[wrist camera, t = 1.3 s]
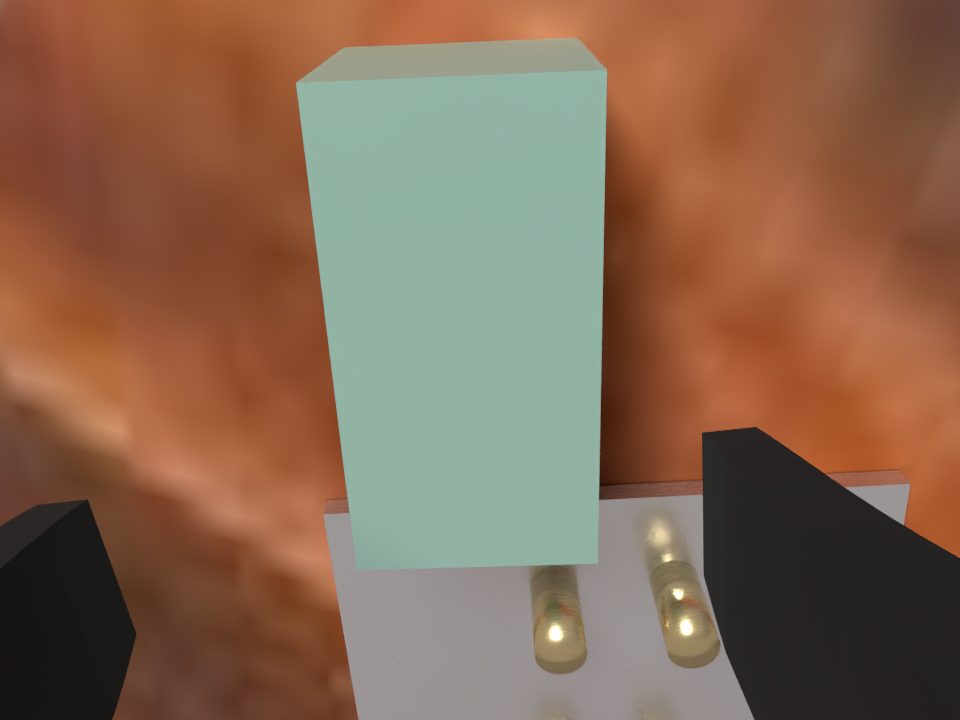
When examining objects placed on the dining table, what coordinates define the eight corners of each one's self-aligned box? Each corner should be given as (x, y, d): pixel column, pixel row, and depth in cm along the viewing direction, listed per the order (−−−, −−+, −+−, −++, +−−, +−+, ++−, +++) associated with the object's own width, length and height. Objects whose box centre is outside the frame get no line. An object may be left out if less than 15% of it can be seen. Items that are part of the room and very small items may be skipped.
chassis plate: (899, 470, 22) (910, 483, 21) (846, 810, 27) (853, 828, 26) (327, 500, 22) (323, 514, 22) (382, 828, 27) (380, 846, 27)
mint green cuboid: (576, 37, 18) (607, 70, 13) (574, 432, 21) (597, 563, 17) (345, 46, 18) (295, 82, 13) (384, 438, 22) (356, 570, 17)
